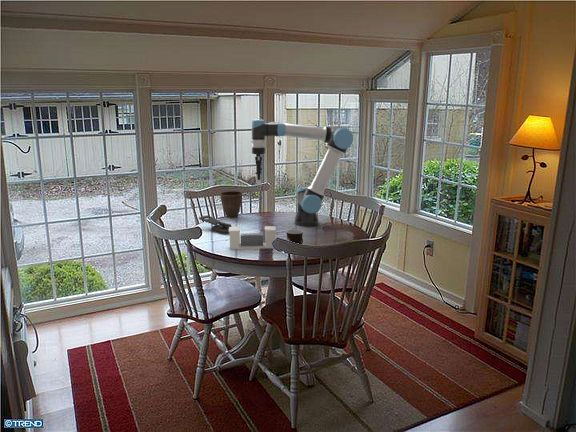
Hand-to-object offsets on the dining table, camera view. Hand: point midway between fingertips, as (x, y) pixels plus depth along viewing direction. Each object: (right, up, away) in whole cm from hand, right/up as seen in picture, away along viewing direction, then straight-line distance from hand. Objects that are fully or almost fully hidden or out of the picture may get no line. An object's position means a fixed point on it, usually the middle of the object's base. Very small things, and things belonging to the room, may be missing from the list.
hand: (258, 183), depth 288 cm
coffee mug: (+21, -38, -32) cm, 53 cm away
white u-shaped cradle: (-2, -36, -24) cm, 43 cm away
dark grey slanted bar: (-26, -28, +8) cm, 39 cm away
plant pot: (-20, -20, +40) cm, 49 cm away
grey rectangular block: (-2, -35, -25) cm, 43 cm away
